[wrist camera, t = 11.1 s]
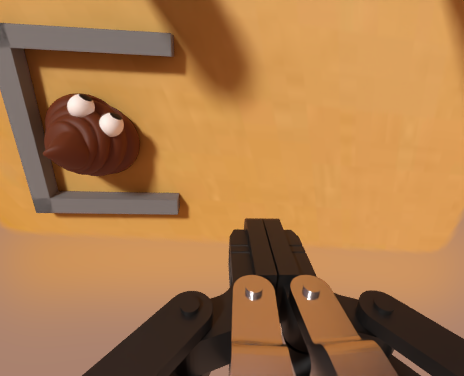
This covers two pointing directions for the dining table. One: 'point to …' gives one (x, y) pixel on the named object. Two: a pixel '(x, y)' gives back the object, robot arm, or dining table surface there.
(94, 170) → the poop emoji
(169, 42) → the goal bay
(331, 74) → the dining table surface
